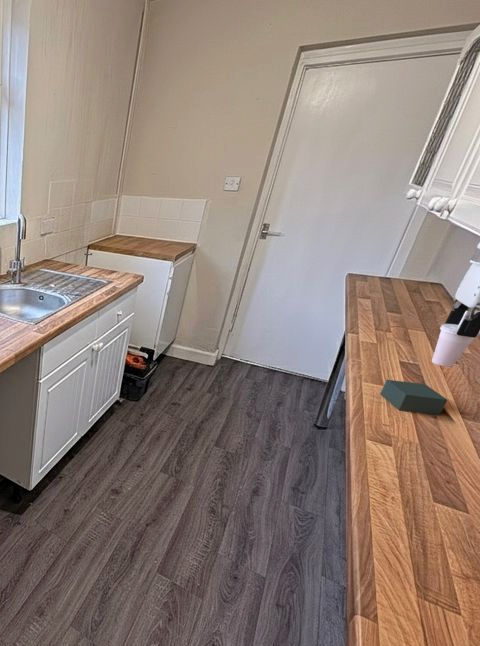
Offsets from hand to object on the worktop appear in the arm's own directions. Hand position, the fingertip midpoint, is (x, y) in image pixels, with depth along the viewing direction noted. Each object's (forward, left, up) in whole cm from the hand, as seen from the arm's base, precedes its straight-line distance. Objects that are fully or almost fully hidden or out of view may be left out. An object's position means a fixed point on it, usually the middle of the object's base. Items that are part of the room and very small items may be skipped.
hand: (459, 330), depth 101 cm
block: (-1, -9, -26) cm, 27 cm away
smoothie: (0, 0, -9) cm, 9 cm away
